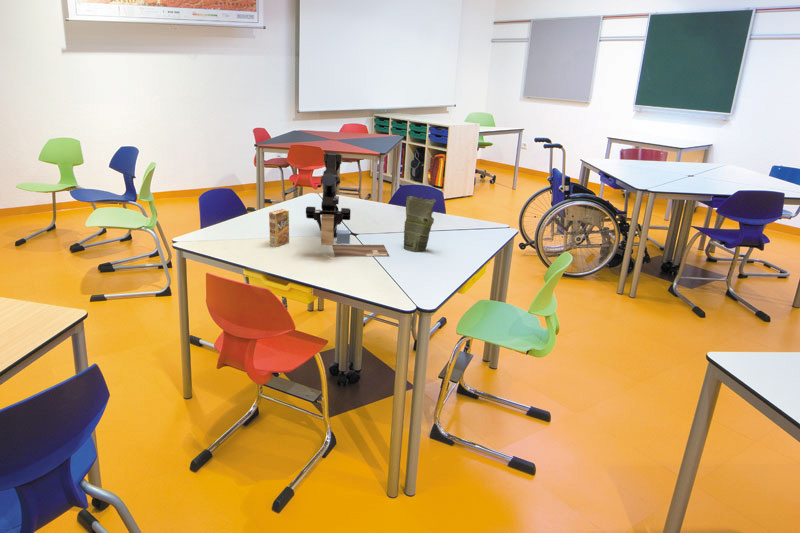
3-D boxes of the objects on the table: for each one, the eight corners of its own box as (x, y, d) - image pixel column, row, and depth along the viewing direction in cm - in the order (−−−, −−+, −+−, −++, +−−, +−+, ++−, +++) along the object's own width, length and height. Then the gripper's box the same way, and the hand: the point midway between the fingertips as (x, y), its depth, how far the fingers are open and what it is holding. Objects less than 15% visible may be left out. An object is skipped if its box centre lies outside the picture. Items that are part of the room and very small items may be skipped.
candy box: (276, 247, 250) (276, 213, 245) (269, 245, 252) (268, 212, 247) (289, 242, 257) (289, 210, 252) (282, 241, 259) (282, 208, 254)
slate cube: (336, 241, 264) (337, 230, 262) (348, 241, 265) (348, 230, 263) (337, 245, 259) (337, 233, 257) (349, 245, 260) (349, 233, 258)
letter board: (332, 245, 257) (332, 244, 256) (383, 246, 261) (383, 244, 261) (334, 257, 241) (334, 256, 241) (389, 257, 246) (389, 256, 245)
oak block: (321, 241, 240) (322, 214, 236) (333, 241, 241) (334, 214, 237) (320, 245, 236) (321, 217, 232) (332, 245, 236) (333, 217, 232)
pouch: (400, 246, 262) (403, 194, 253) (423, 245, 266) (427, 193, 258) (409, 254, 252) (412, 199, 244) (433, 252, 256) (437, 199, 248)
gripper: (306, 187, 233) (303, 220, 227) (351, 189, 235) (349, 222, 228) (307, 201, 244) (305, 233, 237) (350, 203, 245) (349, 235, 238)
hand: (327, 230), depth 235 cm, fingers closed on oak block, 5 cm apart
